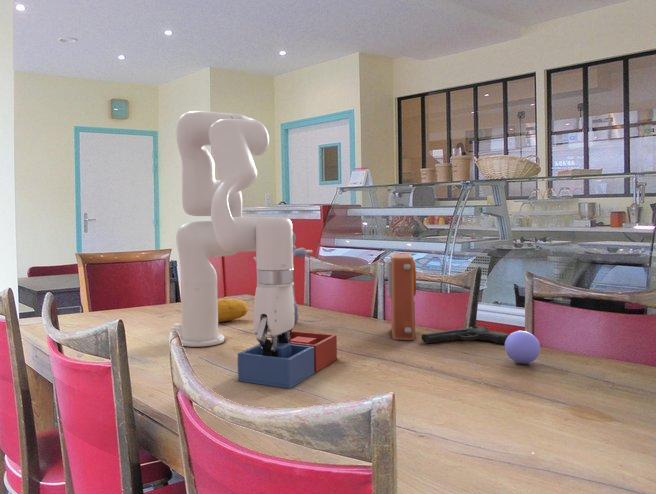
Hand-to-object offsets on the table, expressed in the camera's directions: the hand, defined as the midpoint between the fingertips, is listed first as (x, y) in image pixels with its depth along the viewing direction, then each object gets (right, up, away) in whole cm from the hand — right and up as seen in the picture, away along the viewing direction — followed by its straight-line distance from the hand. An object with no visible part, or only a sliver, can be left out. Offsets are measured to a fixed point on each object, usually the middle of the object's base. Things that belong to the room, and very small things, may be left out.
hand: (276, 365), depth 118 cm
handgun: (+49, -1, +27) cm, 56 cm away
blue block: (0, 0, 0) cm, 0 cm away
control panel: (+35, -1, +37) cm, 51 cm away
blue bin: (0, -2, 0) cm, 2 cm away
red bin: (+6, -2, +11) cm, 13 cm away
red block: (+6, -1, +11) cm, 13 cm away
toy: (+4, -2, +56) cm, 56 cm away
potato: (-13, -2, +61) cm, 63 cm away
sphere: (+54, -1, +7) cm, 54 cm away
